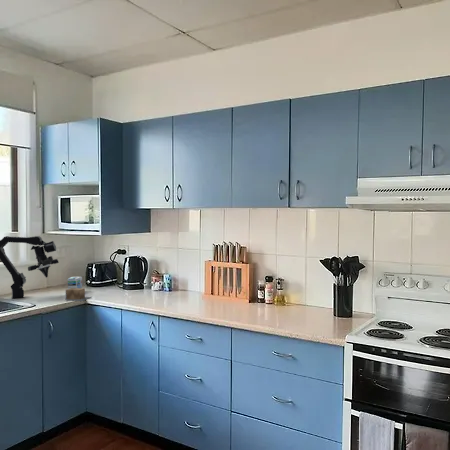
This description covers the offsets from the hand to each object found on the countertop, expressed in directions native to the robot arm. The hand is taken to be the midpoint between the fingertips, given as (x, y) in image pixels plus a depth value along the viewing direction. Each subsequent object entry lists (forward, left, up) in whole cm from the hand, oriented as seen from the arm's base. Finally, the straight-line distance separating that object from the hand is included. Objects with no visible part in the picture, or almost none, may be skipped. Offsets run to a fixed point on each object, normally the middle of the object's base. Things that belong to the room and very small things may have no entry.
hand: (46, 277), depth 302 cm
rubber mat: (+15, -22, -13) cm, 30 cm away
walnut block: (+10, -18, -9) cm, 22 cm away
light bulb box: (+19, +2, -13) cm, 23 cm away
